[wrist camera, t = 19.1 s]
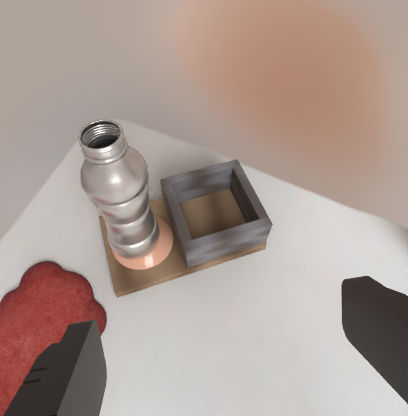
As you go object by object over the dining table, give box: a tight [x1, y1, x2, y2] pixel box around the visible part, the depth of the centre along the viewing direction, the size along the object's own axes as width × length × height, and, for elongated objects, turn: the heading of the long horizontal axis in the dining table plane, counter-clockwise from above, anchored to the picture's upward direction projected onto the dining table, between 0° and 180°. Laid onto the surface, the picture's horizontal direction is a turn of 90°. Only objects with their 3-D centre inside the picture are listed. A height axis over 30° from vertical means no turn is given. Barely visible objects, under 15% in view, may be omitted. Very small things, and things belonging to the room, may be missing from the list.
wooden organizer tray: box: [99, 160, 273, 297], centre depth 44 cm, size 21×12×6 cm, turn 110°
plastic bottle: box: [78, 120, 160, 260], centre depth 35 cm, size 6×7×20 cm
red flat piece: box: [0, 261, 107, 416], centre depth 38 cm, size 18×14×2 cm
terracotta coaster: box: [112, 216, 173, 270], centre depth 44 cm, size 8×8×1 cm
